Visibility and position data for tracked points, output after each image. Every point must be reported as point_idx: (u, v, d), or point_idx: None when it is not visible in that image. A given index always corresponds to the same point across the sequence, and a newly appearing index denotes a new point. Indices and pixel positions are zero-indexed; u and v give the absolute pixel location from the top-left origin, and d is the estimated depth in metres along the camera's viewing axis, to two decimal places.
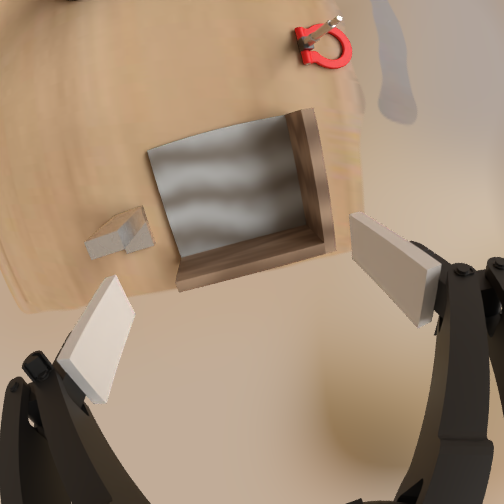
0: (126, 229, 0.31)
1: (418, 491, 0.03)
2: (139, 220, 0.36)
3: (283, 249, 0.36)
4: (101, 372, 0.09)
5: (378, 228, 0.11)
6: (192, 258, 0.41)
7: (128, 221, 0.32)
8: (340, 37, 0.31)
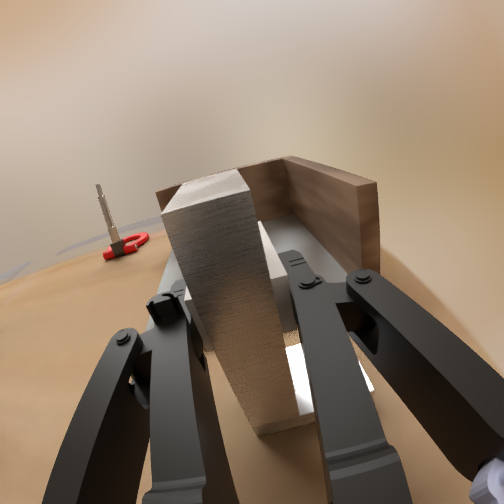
0: None
1: None
2: None
3: (295, 173, 0.30)
4: None
5: None
6: (350, 261, 0.20)
7: None
8: (124, 239, 0.49)
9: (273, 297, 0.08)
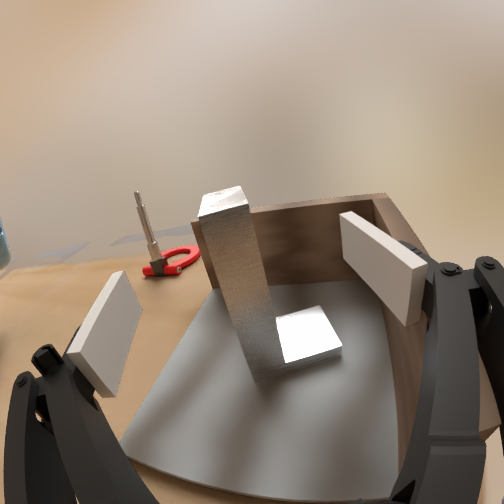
0: None
1: (412, 491, 0.03)
2: None
3: None
4: (110, 366, 0.10)
5: (367, 228, 0.12)
6: (404, 454, 0.08)
7: None
8: (174, 250, 0.45)
9: (262, 266, 0.14)
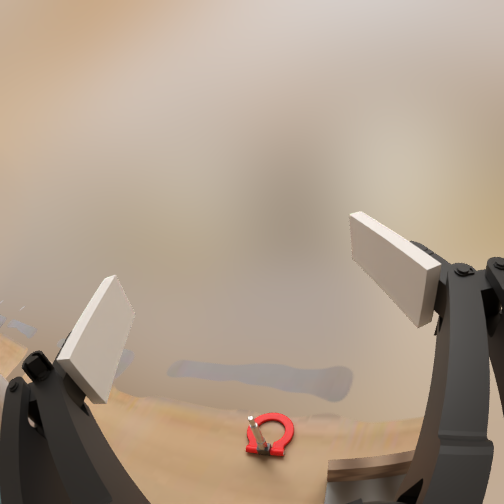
0: None
1: (418, 491, 0.03)
2: None
3: None
4: (101, 372, 0.09)
5: (378, 228, 0.11)
6: None
7: None
8: (264, 419, 0.43)
9: None
